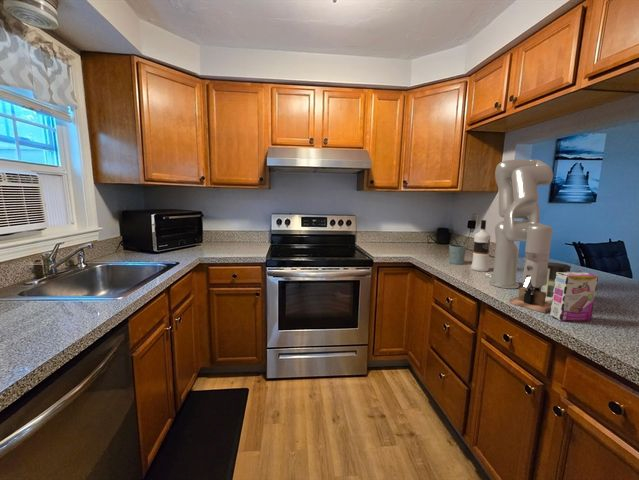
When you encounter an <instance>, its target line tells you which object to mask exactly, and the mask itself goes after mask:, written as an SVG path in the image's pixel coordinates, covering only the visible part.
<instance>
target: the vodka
mask: <svg viewBox="0 0 639 480" xmlns="http://www.w3.org/2000/svg"><path fill="white" fill-rule="evenodd" d="M486 225H487V219H482V220H481V221H480V231H478V232H477V233H475V234H474V236H473V241H474V242H473V252H472V261H471V265H470V268H471V270H472V271H474V272H482V273H485V272H486V273H487V272H489V269H490V267H489V256H490V254H489V253H490V245H491V244H490V243H491V238H492V237H491V234H489V233H488V232H487V231H486Z"/></svg>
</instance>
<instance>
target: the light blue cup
mask: <svg viewBox="0 0 639 480" xmlns="http://www.w3.org/2000/svg"><path fill="white" fill-rule="evenodd" d="M448 246H449V247H448V248H449V250H448V251H449V259H448V260H449V261H448V262H449V264H450V265H456V266H457V265H458V266H463V265H464V264H465V255H466V252H467V251H466V250H467V245H464V244H456V243H453V244H449V245H448Z"/></svg>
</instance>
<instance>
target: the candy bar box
mask: <svg viewBox="0 0 639 480" xmlns="http://www.w3.org/2000/svg"><path fill="white" fill-rule="evenodd" d="M598 280H599V275H596V274H593V273H588V272H575V271H574V272H573V271H572V272H571V271H570V272H556V276H555V283H554V290H553V297H552V304H551V310H550V311H549V316H550V317H552V318H554V319H555V320H558V321H559V322H591V321H592V316H593V310H594V304H595V298H596V293H597V286H598Z"/></svg>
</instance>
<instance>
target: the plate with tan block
mask: <svg viewBox="0 0 639 480" xmlns="http://www.w3.org/2000/svg"><path fill="white" fill-rule="evenodd" d="M530 289H531V290H532V288H530ZM524 291H525V290H524V288H523V286H522V287H519V292H518V296H515V297H512V298H511V299H509V304H512V305H516V306H519V307H523V308H526V309H530V310H534V311H537V312H540V313H544V314H545V313H548V312H550V311H551V305H550V304H546V303H545V299H546V292H542V291H537V290H534V294H533V295H535V297H534V304H533V305H531V304H527V303H524V294H525V293H524Z"/></svg>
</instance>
